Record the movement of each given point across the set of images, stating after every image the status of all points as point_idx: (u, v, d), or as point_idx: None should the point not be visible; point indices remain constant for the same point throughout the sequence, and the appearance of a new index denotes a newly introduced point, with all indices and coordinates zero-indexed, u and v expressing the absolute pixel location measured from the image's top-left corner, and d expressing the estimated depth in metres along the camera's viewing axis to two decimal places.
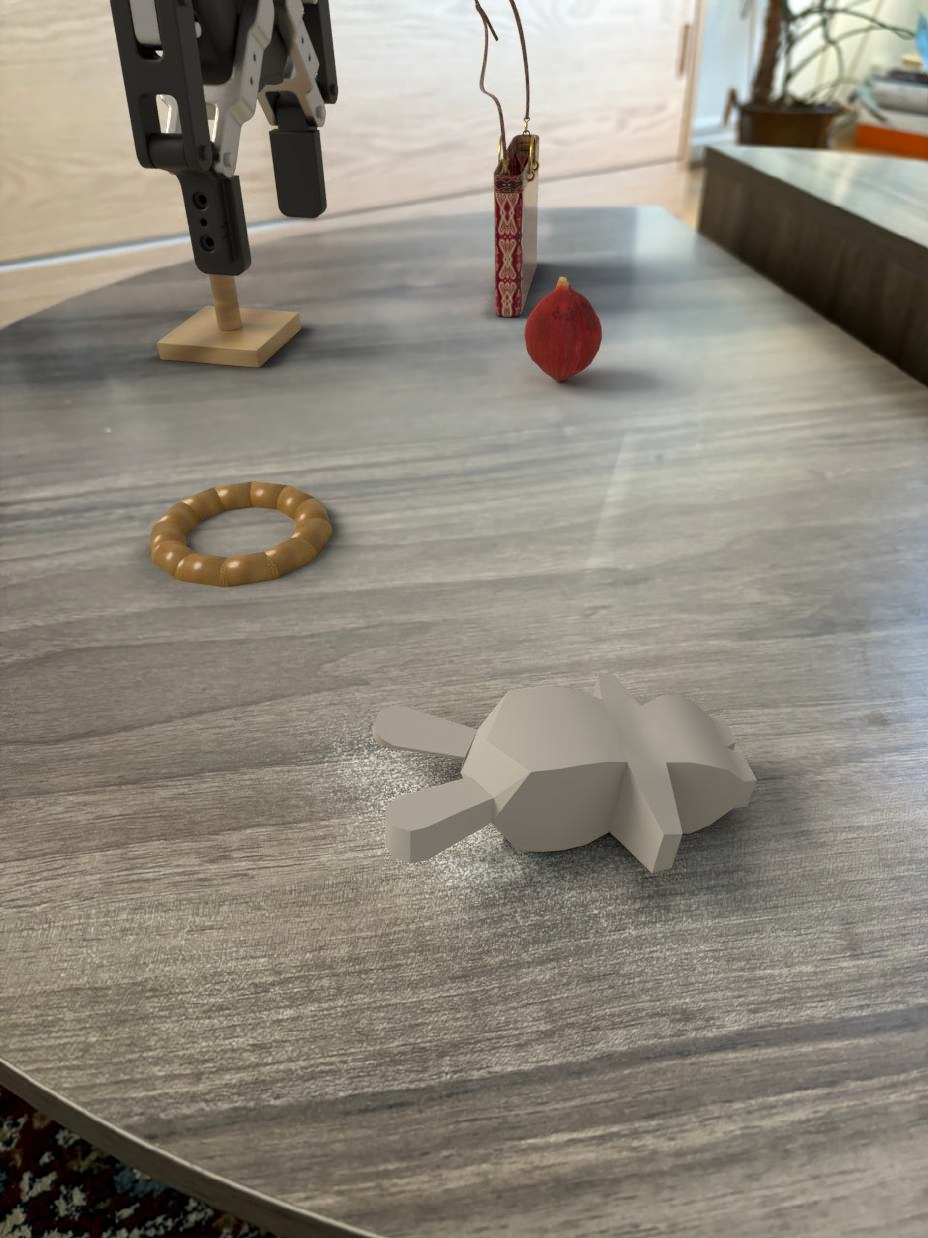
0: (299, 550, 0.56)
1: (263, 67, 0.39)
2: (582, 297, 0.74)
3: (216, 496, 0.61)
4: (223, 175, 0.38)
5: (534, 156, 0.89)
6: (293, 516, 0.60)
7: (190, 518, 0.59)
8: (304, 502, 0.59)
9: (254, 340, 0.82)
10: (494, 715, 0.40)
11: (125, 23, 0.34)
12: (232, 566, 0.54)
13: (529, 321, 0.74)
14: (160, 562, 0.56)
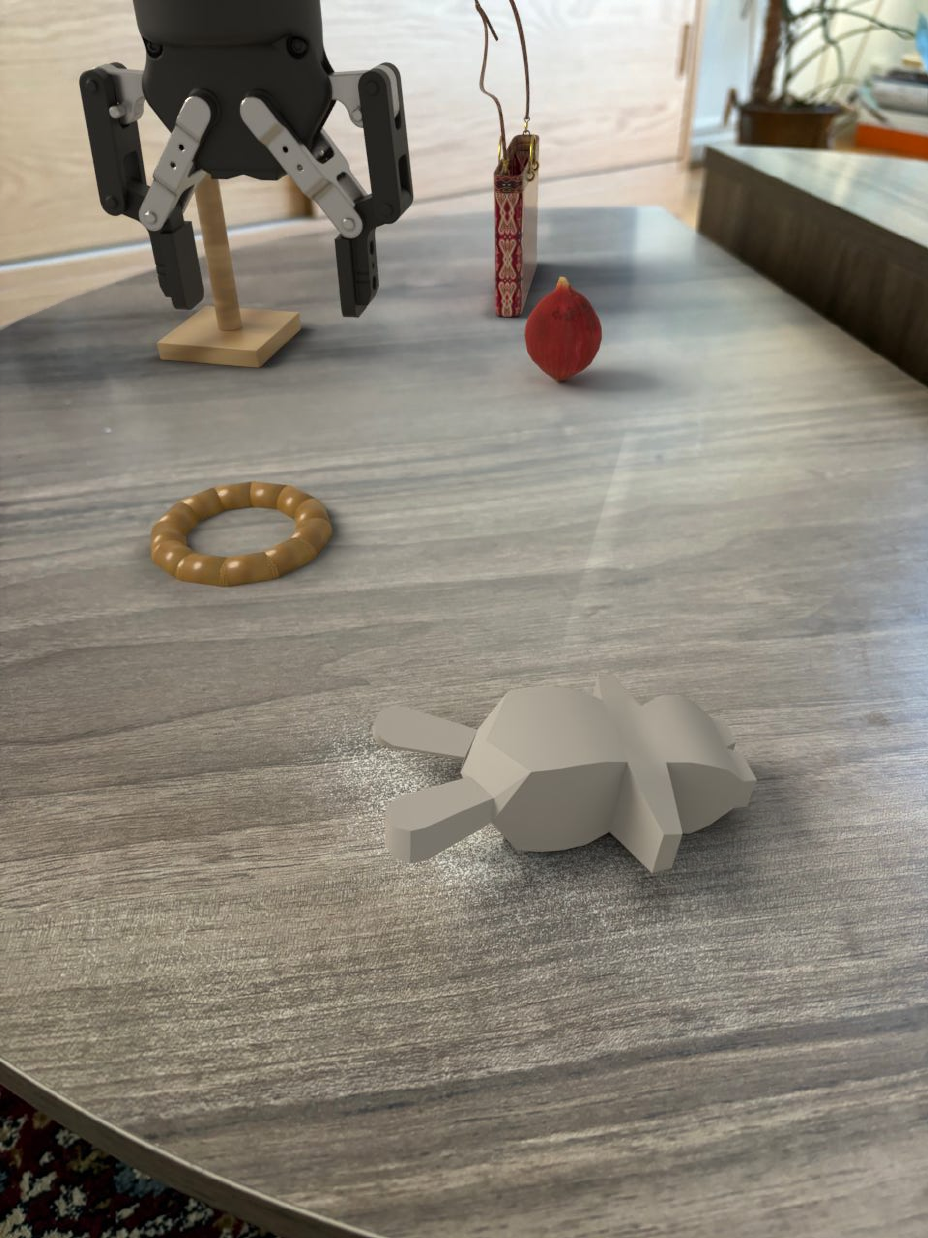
0: (299, 550, 0.56)
1: (230, 160, 0.43)
2: (582, 297, 0.74)
3: (216, 496, 0.61)
4: (146, 227, 0.46)
5: (534, 156, 0.89)
6: (293, 516, 0.60)
7: (190, 518, 0.59)
8: (304, 502, 0.59)
9: (254, 340, 0.82)
10: (494, 715, 0.40)
11: None
12: (232, 566, 0.54)
13: (529, 321, 0.74)
14: (160, 562, 0.56)
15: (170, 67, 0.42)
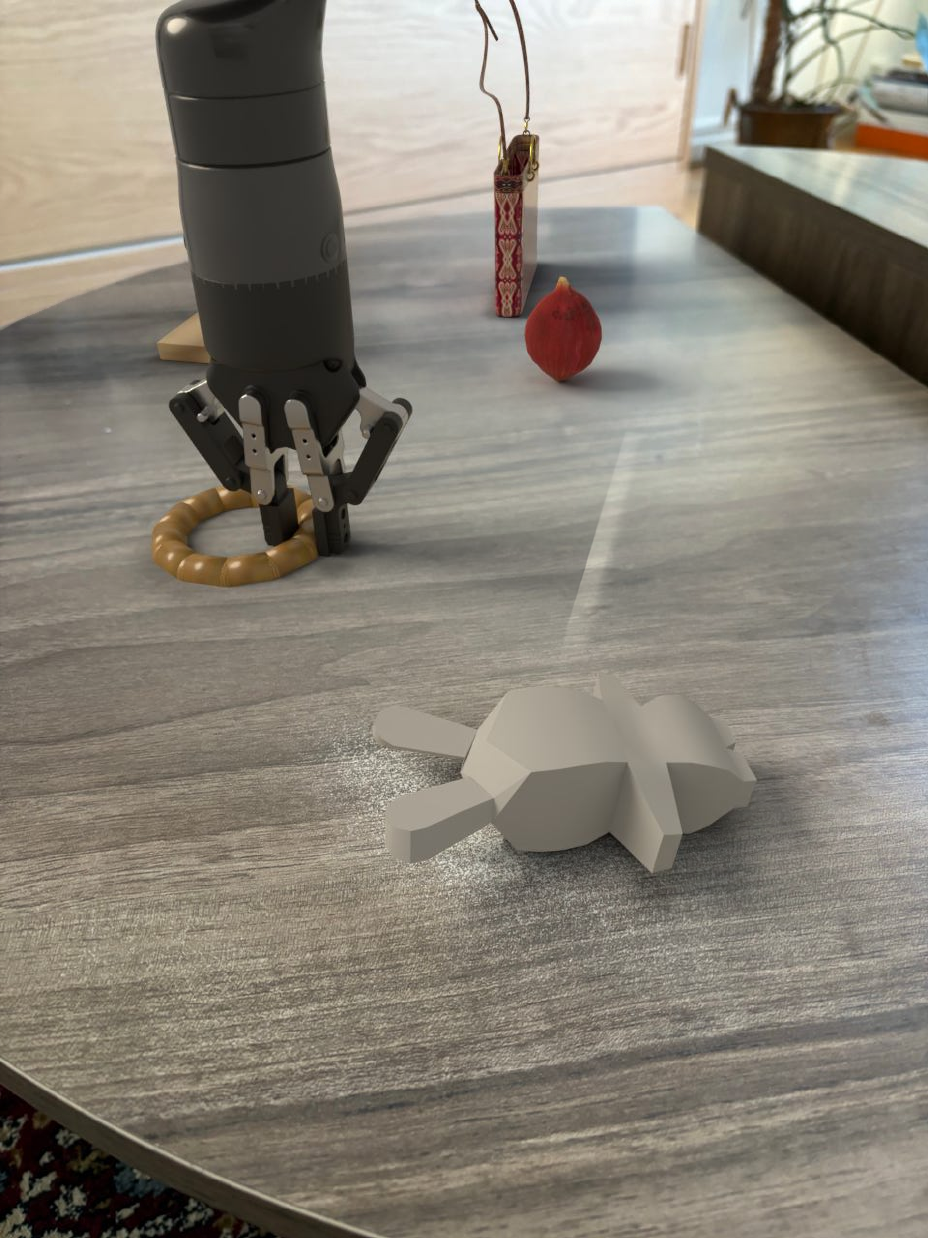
0: (300, 550, 0.56)
1: (275, 436, 0.53)
2: (582, 297, 0.74)
3: (217, 496, 0.61)
4: (257, 500, 0.55)
5: (534, 156, 0.89)
6: None
7: (191, 518, 0.59)
8: (305, 502, 0.59)
9: None
10: (494, 715, 0.40)
11: None
12: (233, 566, 0.54)
13: (529, 321, 0.74)
14: (161, 562, 0.56)
15: (229, 369, 0.51)
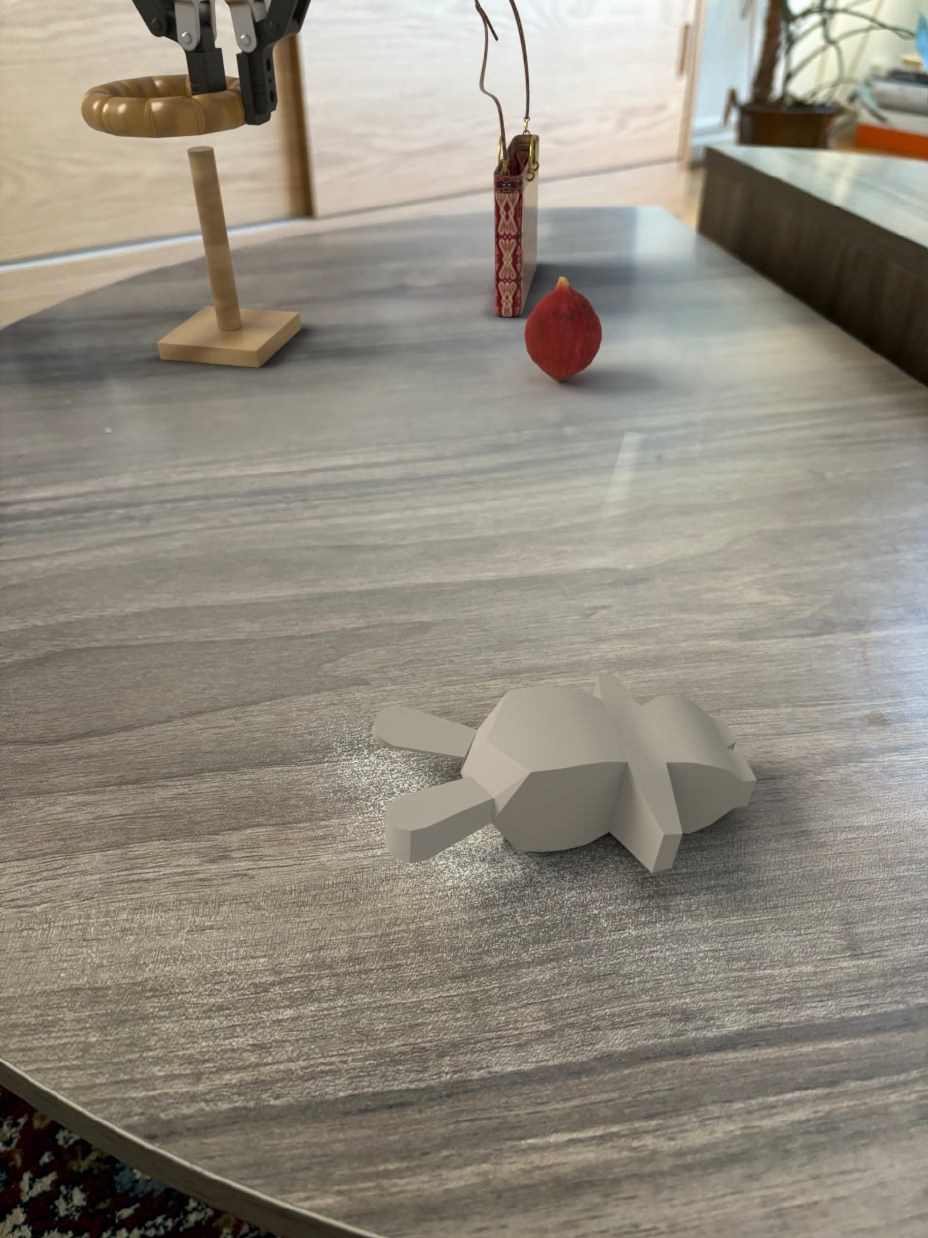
0: (225, 98, 0.56)
1: None
2: (582, 297, 0.74)
3: (151, 81, 0.61)
4: (183, 46, 0.56)
5: (534, 156, 0.89)
6: None
7: (124, 92, 0.60)
8: (236, 80, 0.60)
9: (254, 340, 0.82)
10: (494, 715, 0.40)
11: None
12: (157, 102, 0.55)
13: (529, 321, 0.74)
14: (88, 109, 0.57)
15: None
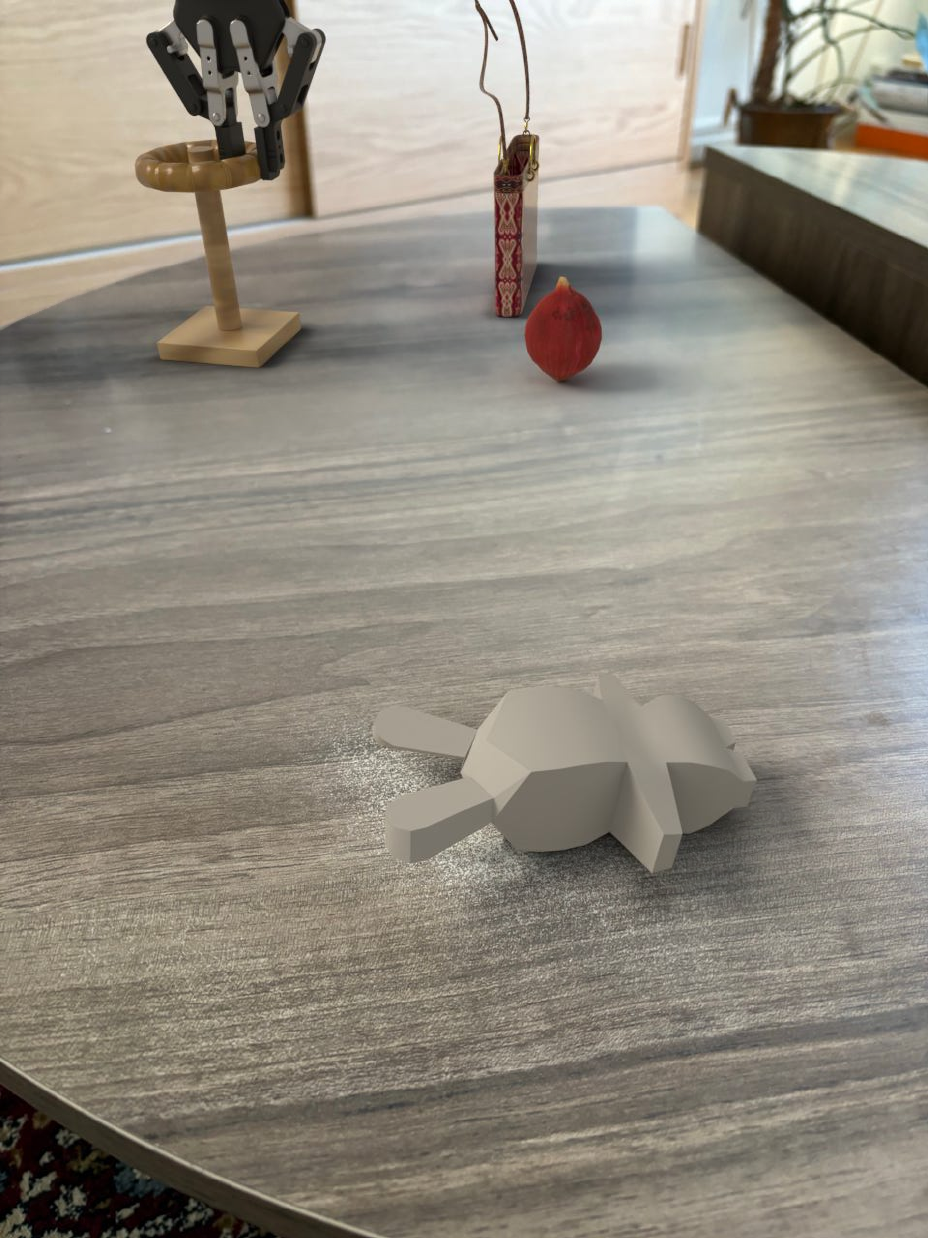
0: (246, 161, 0.74)
1: (225, 60, 0.71)
2: (582, 297, 0.74)
3: (185, 146, 0.79)
4: (213, 123, 0.74)
5: (534, 156, 0.89)
6: None
7: (165, 156, 0.78)
8: (252, 144, 0.78)
9: (254, 340, 0.82)
10: (494, 715, 0.40)
11: None
12: (195, 166, 0.73)
13: (529, 321, 0.74)
14: (142, 172, 0.74)
15: (189, 2, 0.69)
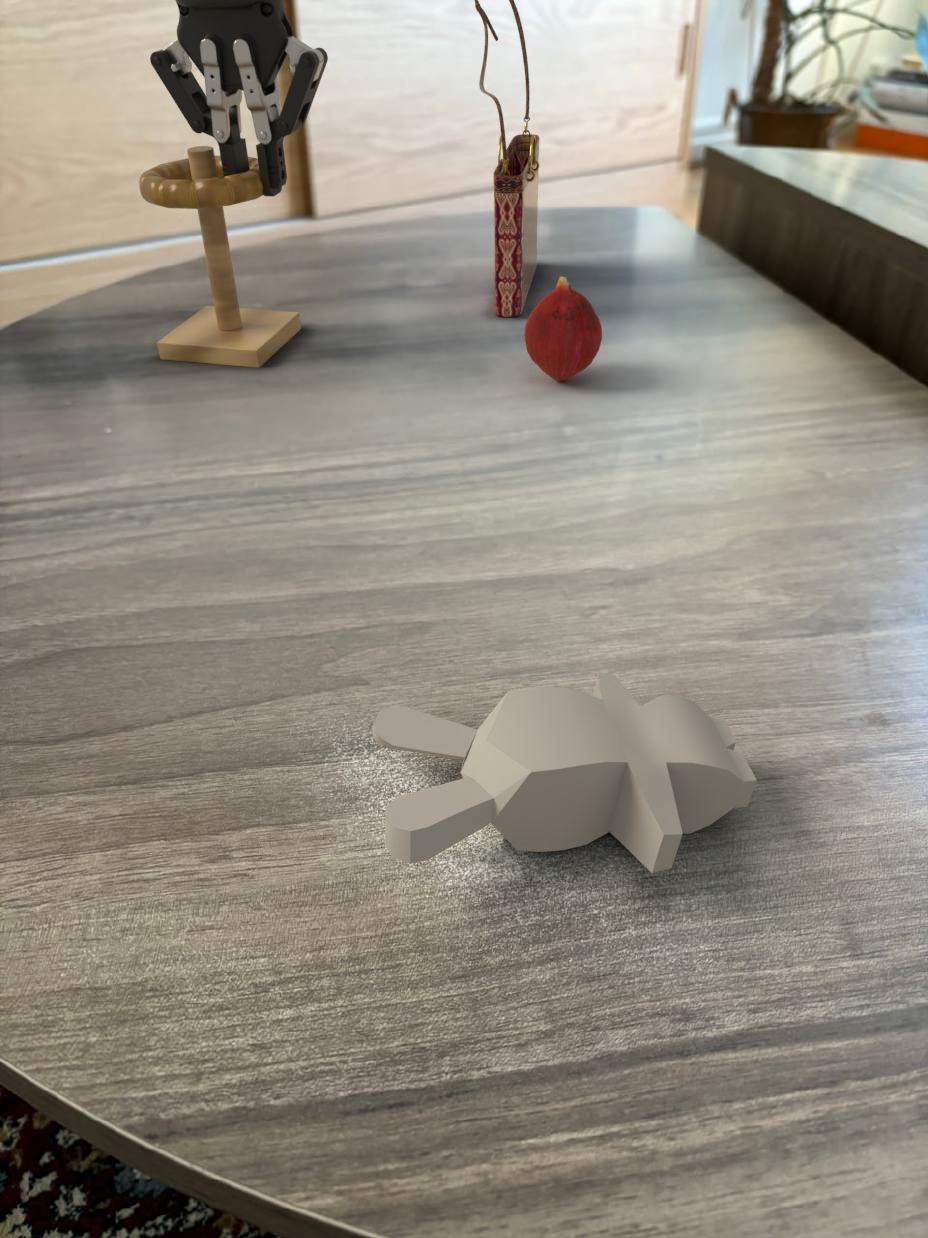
0: (249, 177, 0.75)
1: (228, 79, 0.72)
2: (582, 297, 0.74)
3: None
4: None
5: (534, 156, 0.89)
6: None
7: (169, 173, 0.78)
8: (255, 160, 0.79)
9: (254, 340, 0.82)
10: (494, 715, 0.40)
11: None
12: (199, 182, 0.74)
13: (529, 321, 0.74)
14: (146, 189, 0.75)
15: (193, 21, 0.70)
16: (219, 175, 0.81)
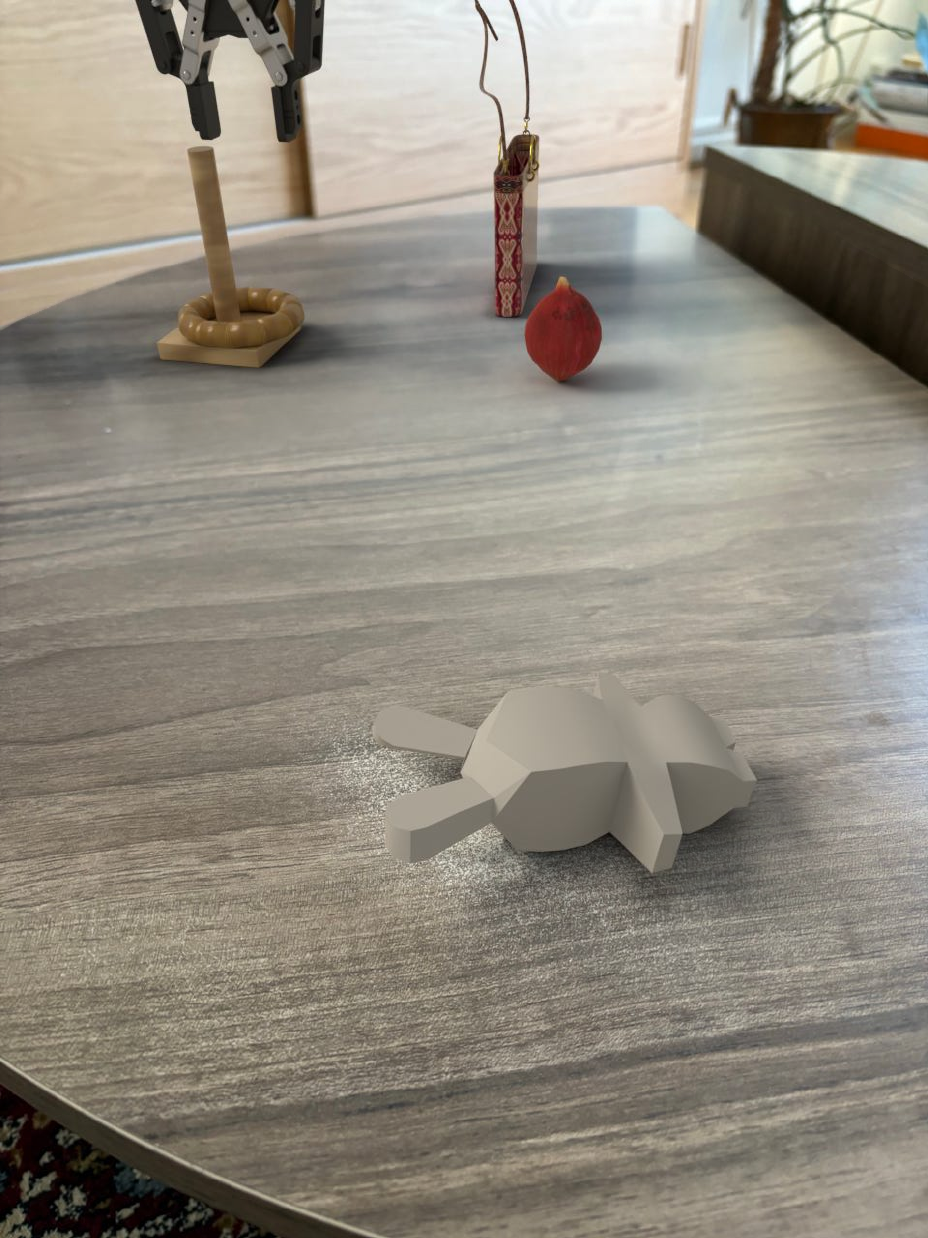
0: (280, 319, 0.81)
1: (219, 24, 0.70)
2: (582, 297, 0.74)
3: None
4: (184, 81, 0.73)
5: (534, 156, 0.89)
6: (277, 307, 0.85)
7: (205, 306, 0.84)
8: (285, 296, 0.85)
9: None
10: (494, 715, 0.40)
11: None
12: (233, 326, 0.80)
13: (529, 321, 0.74)
14: (184, 328, 0.81)
15: None
16: (251, 306, 0.87)
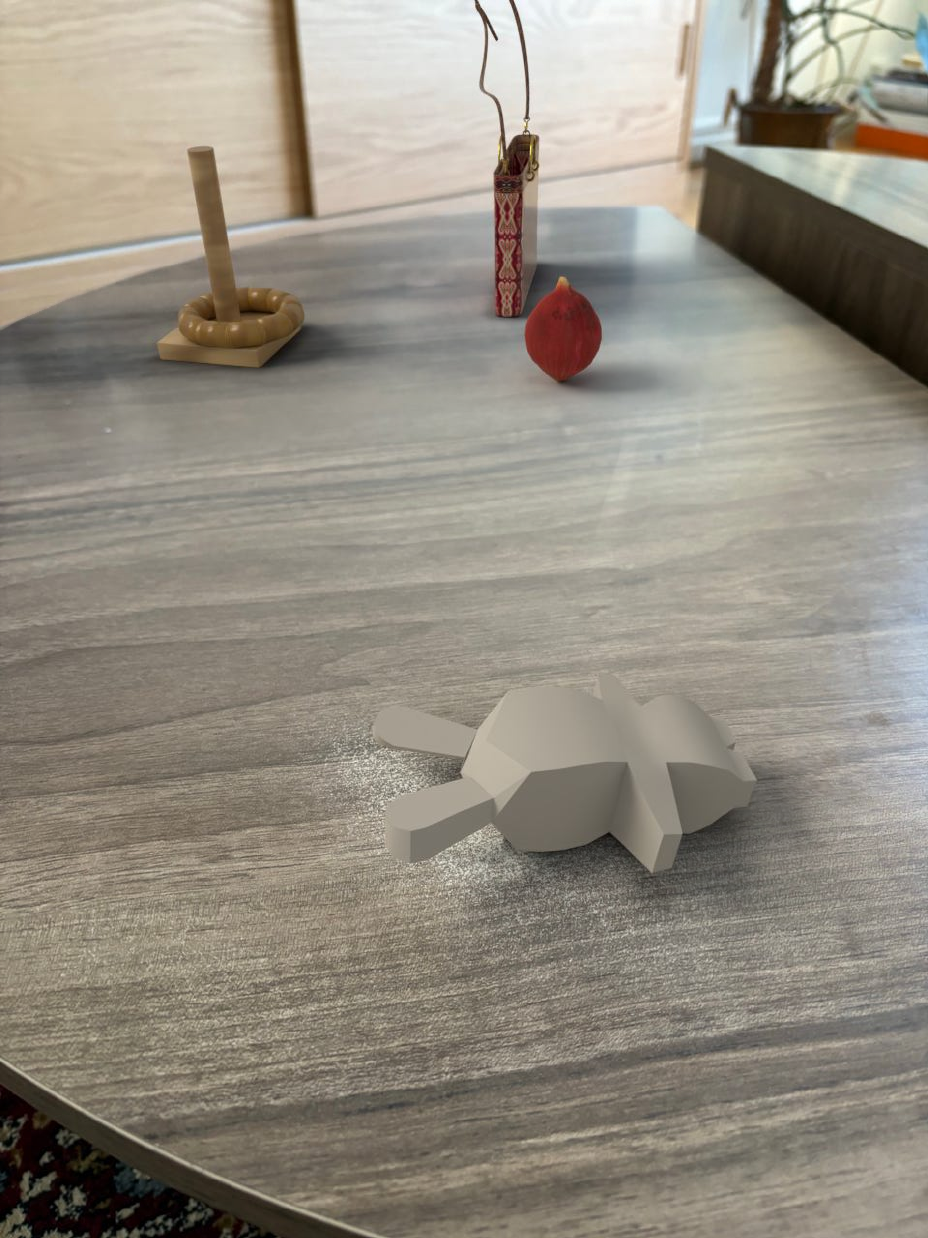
0: (280, 319, 0.81)
1: None
2: (582, 297, 0.74)
3: None
4: None
5: (534, 156, 0.89)
6: (277, 307, 0.85)
7: (205, 306, 0.84)
8: (285, 296, 0.85)
9: None
10: (494, 715, 0.40)
11: None
12: (233, 326, 0.80)
13: (529, 321, 0.74)
14: (184, 328, 0.81)
15: None
16: (251, 306, 0.87)
